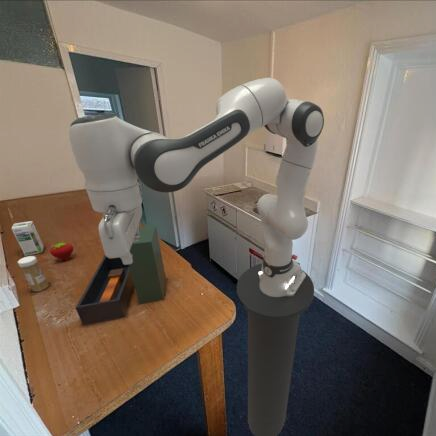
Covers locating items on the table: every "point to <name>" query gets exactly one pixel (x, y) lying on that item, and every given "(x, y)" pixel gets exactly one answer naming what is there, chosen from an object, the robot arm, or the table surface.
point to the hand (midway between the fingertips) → (132, 250)
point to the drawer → (89, 302)
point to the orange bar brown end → (113, 284)
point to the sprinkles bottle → (33, 273)
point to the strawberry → (62, 250)
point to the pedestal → (148, 266)
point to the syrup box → (27, 238)
